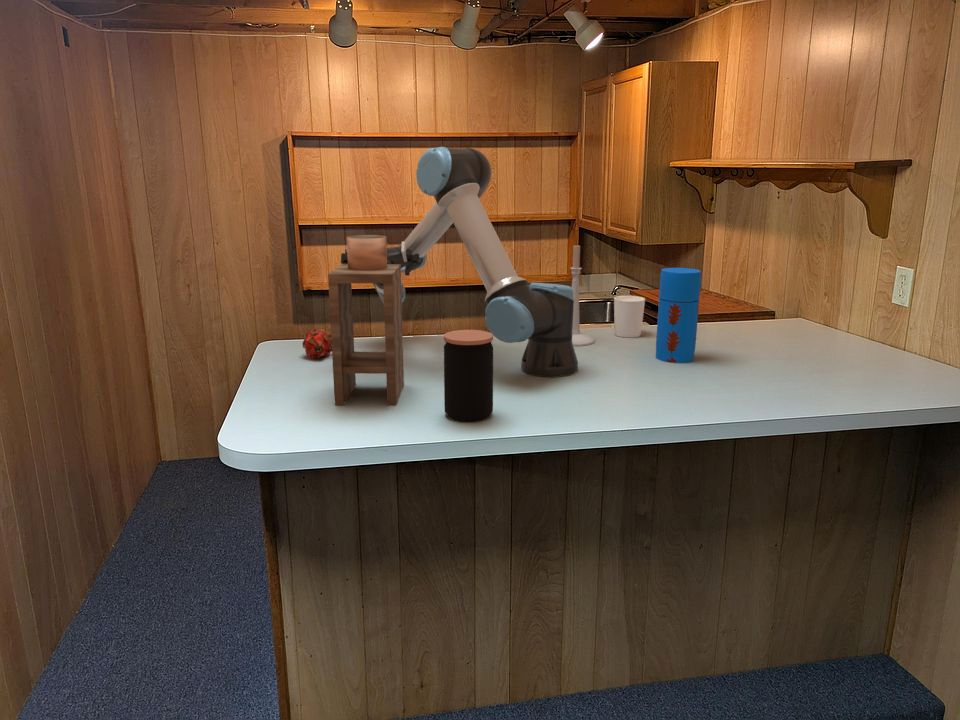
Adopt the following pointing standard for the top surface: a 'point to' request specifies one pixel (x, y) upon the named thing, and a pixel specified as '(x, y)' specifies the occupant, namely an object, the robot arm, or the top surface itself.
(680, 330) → the thermos
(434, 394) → the top surface
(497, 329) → the robot arm
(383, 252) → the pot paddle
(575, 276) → the candlestick
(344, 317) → the potting stand
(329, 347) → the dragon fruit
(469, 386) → the coffee jar
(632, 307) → the white cup
